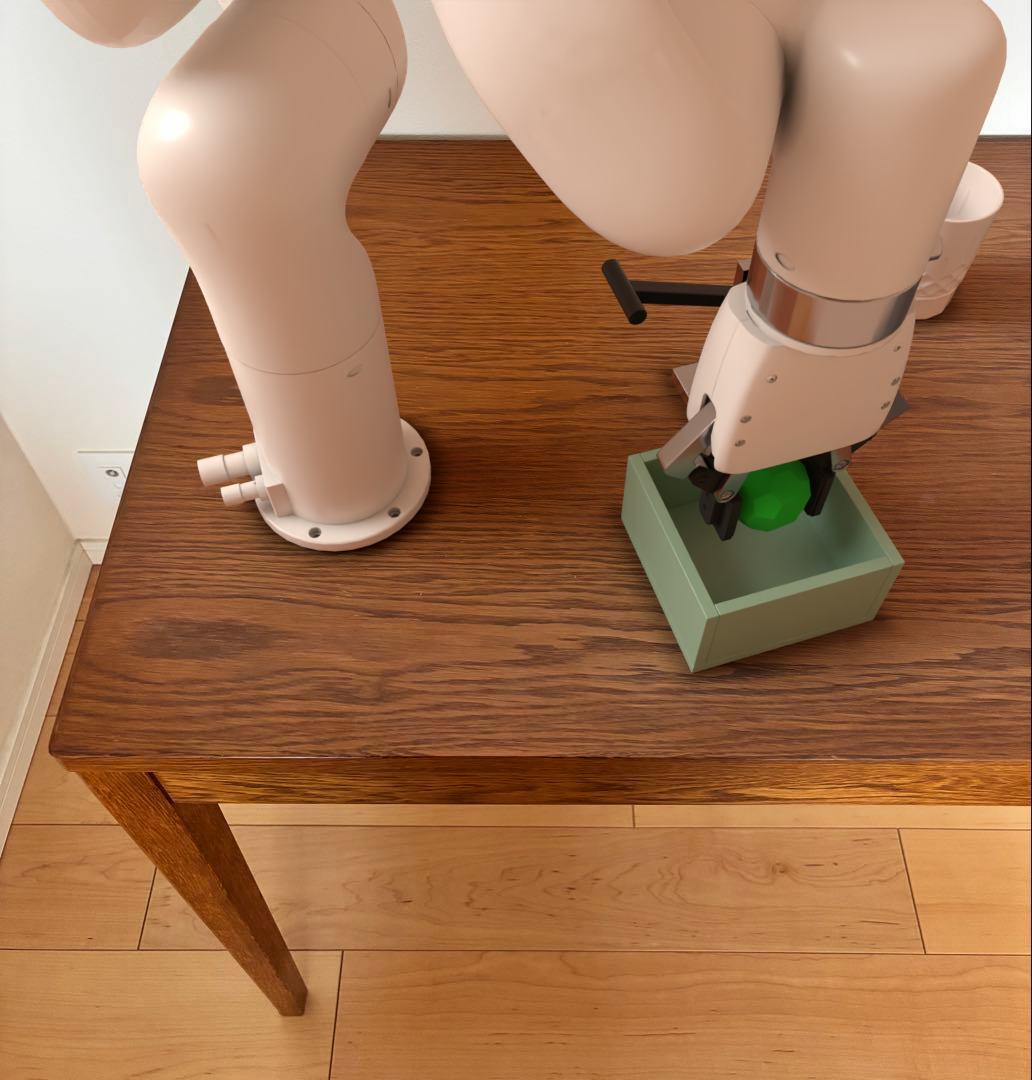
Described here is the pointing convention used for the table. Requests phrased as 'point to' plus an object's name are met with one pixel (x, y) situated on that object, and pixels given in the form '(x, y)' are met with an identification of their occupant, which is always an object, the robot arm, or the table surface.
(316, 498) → the robot arm
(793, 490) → the polyhedron
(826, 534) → the bin
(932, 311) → the white cup
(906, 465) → the table surface
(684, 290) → the lever
